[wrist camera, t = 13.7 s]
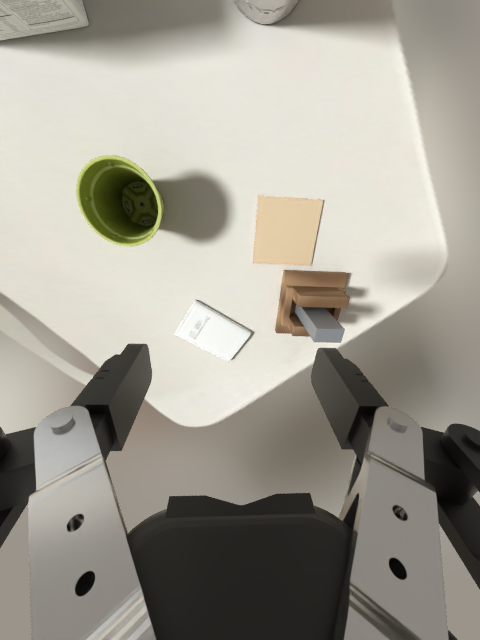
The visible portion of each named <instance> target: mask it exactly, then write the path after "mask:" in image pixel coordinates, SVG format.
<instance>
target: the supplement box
mask: <svg viewBox="0 0 480 640" xmlns="http://www.w3.org/2000/svg"><path fill="white" fill-rule="evenodd" d="M88 25H89V22H88V18H87V15H86V12H85V8H84V5H83V1H82V0H0V40H6V39H13V38H19V37H25V36H31V35H38V34H44V33H50V32H56V31H62V30H68V29H74V28H81V27H85V26H88Z"/></svg>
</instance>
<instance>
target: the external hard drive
mask: <svg viewBox="0 0 480 640" xmlns="http://www.w3.org/2000/svg"><path fill="white" fill-rule="evenodd" d="M174 334H175V335H177V336H179V337H181V338H183V339H184V340H186V341H188V342H190V343H192V344H194V345H196V346H198V347H200V348H202V349H204V350H206V351H208V352H210V353H212V354H213V355H215V356H217V357H219V358H221V359H223V360H225V361H227V362H229V361H230V360H231V359H232V358H233V356H234V355H235V354H236V353H237V351H238V350H239V349H240V348H241V346H242V345H243V344H244V343H245V341H246V340H247V339H248V338H249V336H250V335H251V331H249V330H248V329H246V328H244V327H242V326H241V325H239V324H237V323H235V322H234V321H232V320H230V319H229V318H227V317H225V316H223V315H222V314H220V313H218V312H216V311H215V310H213V309H211V308H209V307H208V306H206V305H204V304H202V303H201V302H199V301H197V300H195V301H194V303H193V304H192V306H191V307H190V309H189V310H188V312H187V314H186V315H185V317H184V319H183V320H182V322H181V323H180V325H179V326H178V328H177V329H176V331H175V333H174Z"/></svg>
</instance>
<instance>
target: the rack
mask: <svg viewBox="0 0 480 640" xmlns="http://www.w3.org/2000/svg"><path fill="white" fill-rule="evenodd" d="M347 277H348V274H347V273H345V272H321V271H297V270H284V272H283V279H282V286H281V293H280V300H279V307H278V315H277V322H276V329H275V331H276V333H291V334H292V336H310V335H309V333H308V332H307V330H306V329H305V327H304V325H303V324H302V322H301V321H300V319H299V317H298V316H297V314H296V313H295V307H296V305H297V306H298V307H324V308H325V309H326V310H327V311H328V312H329V313H330V314H331V315H332V316H333V317H334V318H335V319H336V320H338V317H339V313H340V309H341V308H347V306H348V302H349V299H350V297H348V296H347V295H346V294H345V291H346V290H344V288H345V284H346V280H347Z"/></svg>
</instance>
